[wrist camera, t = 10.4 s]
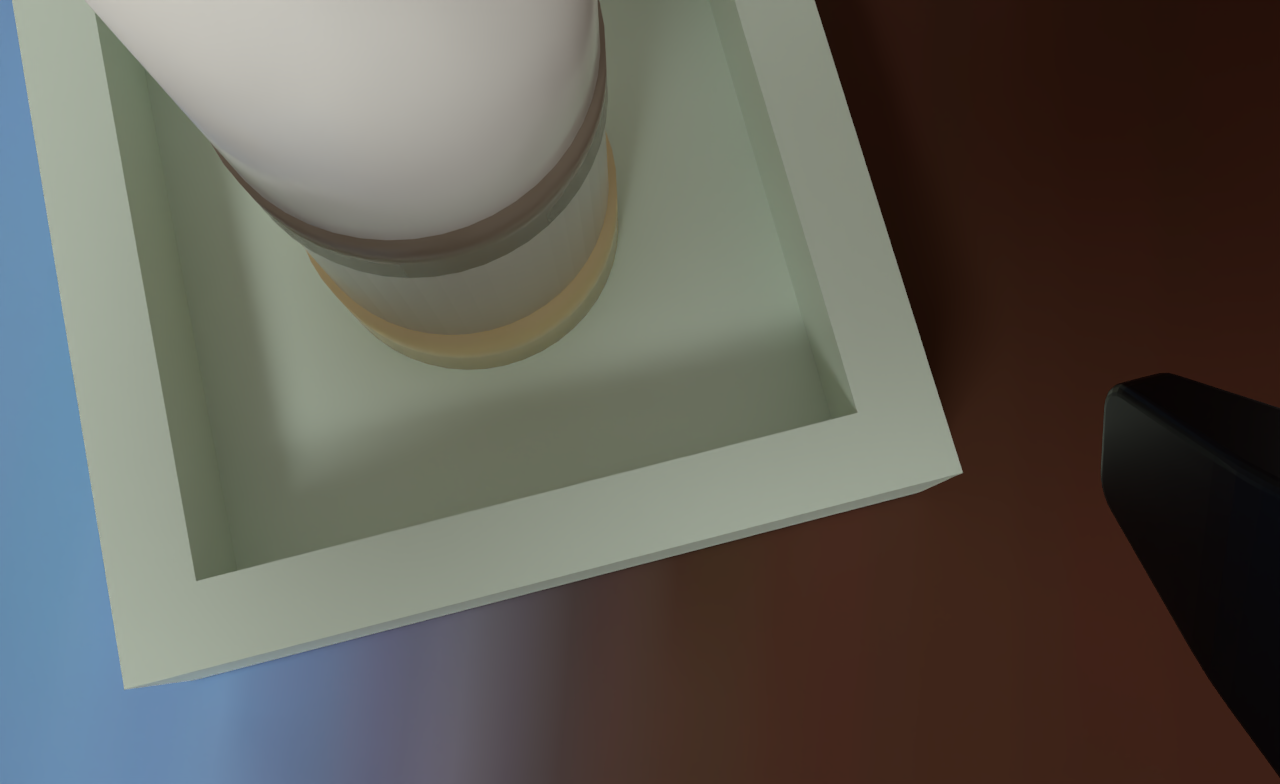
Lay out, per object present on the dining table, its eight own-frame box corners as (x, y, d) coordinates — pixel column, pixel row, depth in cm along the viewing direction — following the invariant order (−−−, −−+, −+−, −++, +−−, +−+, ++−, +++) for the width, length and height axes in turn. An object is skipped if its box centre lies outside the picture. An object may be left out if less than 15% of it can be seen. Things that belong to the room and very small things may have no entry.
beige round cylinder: (519, 425, 15) (231, -67, 4) (269, 275, 15) (-568, -513, 5) (672, 179, 16) (751, -773, 5) (429, 43, 16) (16, -1111, 5)
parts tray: (919, 492, 16) (962, 472, 13) (193, 680, 15) (124, 689, 13) (726, -139, 17) (738, -241, 15) (77, 8, 17) (-1, -77, 15)
